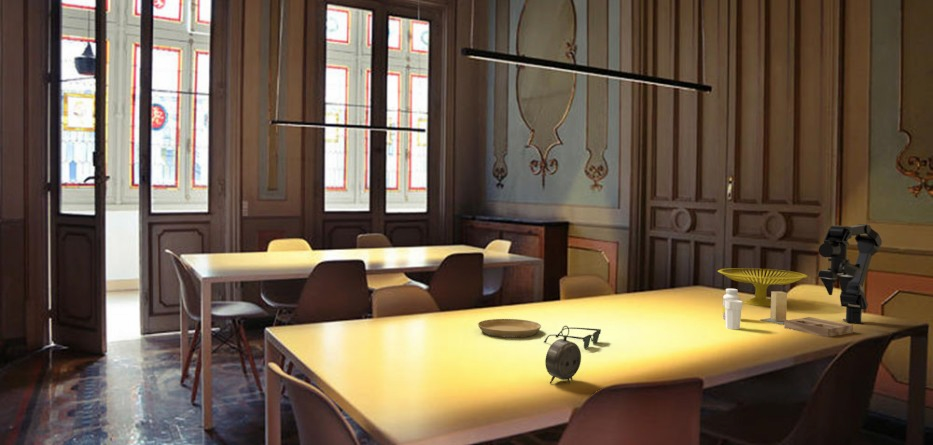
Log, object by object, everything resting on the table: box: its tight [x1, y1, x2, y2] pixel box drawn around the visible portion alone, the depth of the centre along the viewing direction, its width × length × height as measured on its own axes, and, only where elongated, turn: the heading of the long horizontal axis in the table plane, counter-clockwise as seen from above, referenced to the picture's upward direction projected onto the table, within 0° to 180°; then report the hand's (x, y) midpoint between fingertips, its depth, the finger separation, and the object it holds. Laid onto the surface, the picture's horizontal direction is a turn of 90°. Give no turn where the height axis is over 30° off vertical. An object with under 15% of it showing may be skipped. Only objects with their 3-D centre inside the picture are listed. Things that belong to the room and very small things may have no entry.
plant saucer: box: [477, 318, 542, 339], centre depth 255 cm, size 24×24×3 cm
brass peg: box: [770, 290, 788, 322], centre depth 281 cm, size 4×4×12 cm
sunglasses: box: [543, 327, 602, 350], centre depth 239 cm, size 16×17×5 cm
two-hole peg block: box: [783, 316, 854, 338], centre depth 265 cm, size 16×18×3 cm
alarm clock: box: [544, 325, 582, 385], centre depth 190 cm, size 11×5×16 cm, turn 129°
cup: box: [724, 299, 743, 330], centre depth 267 cm, size 7×7×11 cm
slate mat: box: [759, 317, 785, 325], centre depth 282 cm, size 10×10×1 cm
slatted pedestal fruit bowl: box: [717, 267, 809, 307], centre depth 326 cm, size 40×40×15 cm
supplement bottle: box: [722, 288, 741, 320], centre depth 286 cm, size 7×7×13 cm
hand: (837, 294), depth 274 cm, fingers open, 9 cm apart
